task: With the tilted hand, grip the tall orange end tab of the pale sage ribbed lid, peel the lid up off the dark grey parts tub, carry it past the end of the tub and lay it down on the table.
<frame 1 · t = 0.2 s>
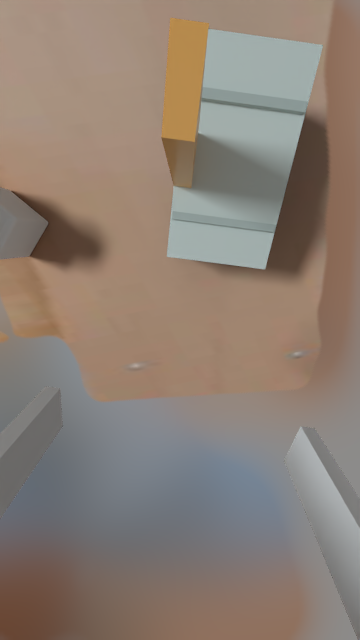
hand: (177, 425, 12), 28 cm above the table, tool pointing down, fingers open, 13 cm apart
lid: (231, 169, 24), point 8 cm above the table, touching tub
medicine bottle: (21, 225, 35), on the table
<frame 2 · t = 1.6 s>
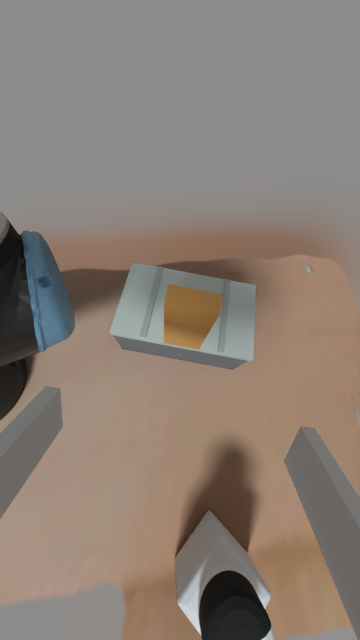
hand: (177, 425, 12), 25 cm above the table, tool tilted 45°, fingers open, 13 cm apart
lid: (187, 310, 33), point 8 cm above the table, touching tub
medicine bottle: (210, 555, 28), on the table
tub: (183, 328, 40), on the table
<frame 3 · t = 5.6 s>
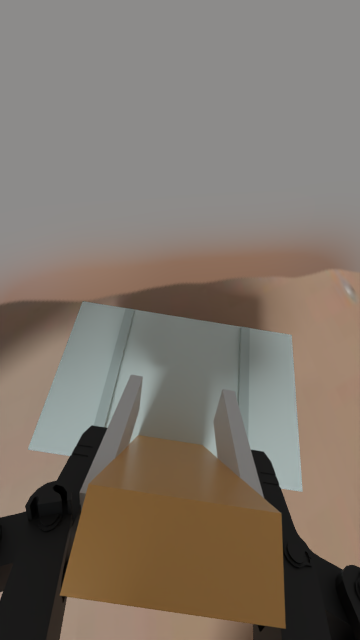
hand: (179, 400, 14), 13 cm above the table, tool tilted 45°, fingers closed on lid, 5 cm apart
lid: (177, 385, 19), point 8 cm above the table, touching gripper, tub
when the fingers open (13 cm above the table, at t = 14.7 s): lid drops 8 cm, on the table.
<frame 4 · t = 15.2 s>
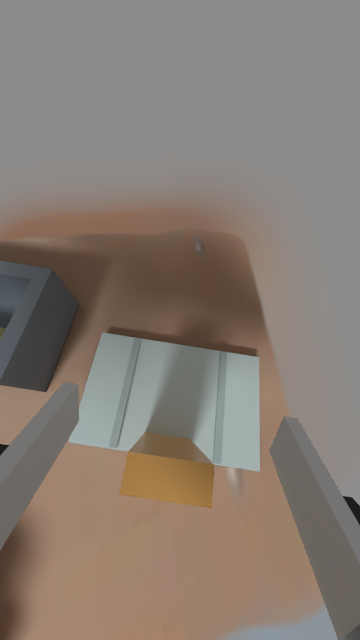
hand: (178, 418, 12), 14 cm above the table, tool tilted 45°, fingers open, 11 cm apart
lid: (173, 395, 26), on the table
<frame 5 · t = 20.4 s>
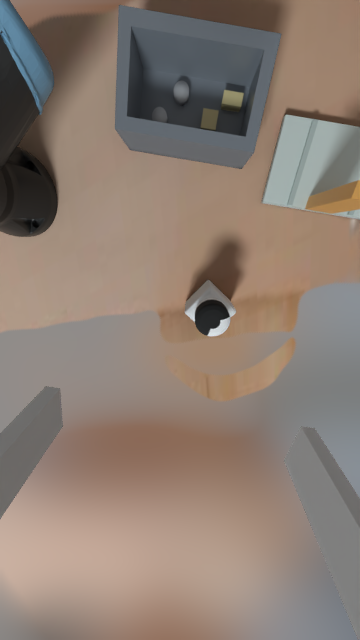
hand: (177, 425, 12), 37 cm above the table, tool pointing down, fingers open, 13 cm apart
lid: (329, 172, 37), on the table
medicine bottle: (207, 301, 47), on the table
tub: (191, 116, 36), on the table
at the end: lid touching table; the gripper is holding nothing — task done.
